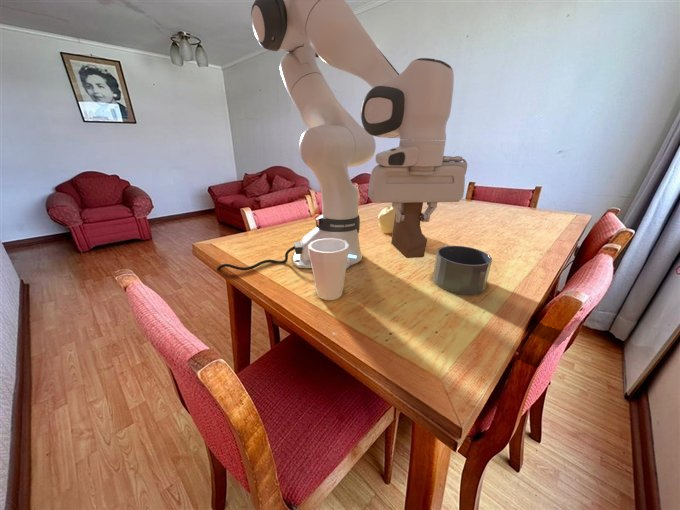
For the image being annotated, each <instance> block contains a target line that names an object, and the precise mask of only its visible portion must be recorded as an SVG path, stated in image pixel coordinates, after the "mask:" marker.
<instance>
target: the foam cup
mask: <svg viewBox="0 0 680 510" xmlns="http://www.w3.org/2000/svg"><path fill="white" fill-rule="evenodd" d="M308 252H309V257H310V260H311V265H312V268H311V270H312V275H313V280H314V285H315V290H316V294H317V295H316V296H317V297H318V298H320V299H321V300H325V301H333V300H337V299H339V298H340V297H342V295H343V291H344V286H345V285H344V284H345V277H346V273H347V272H346V271H347V269H346V265H347V258H348V255H349V244H348V243H347V242H346V241H344V240H341V239H335V238H324V239H318V240H315V241H313V242H311V243H310V244H309V245H308Z"/></svg>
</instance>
